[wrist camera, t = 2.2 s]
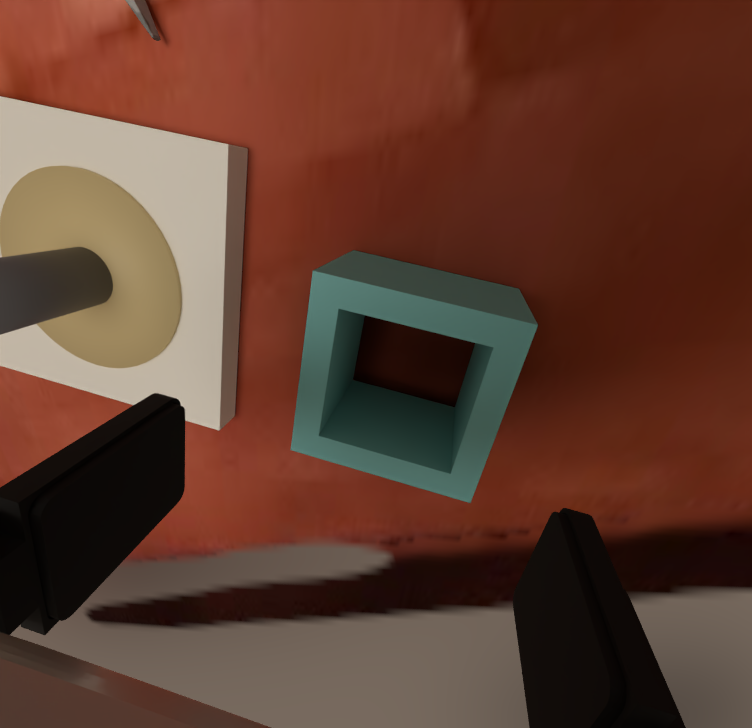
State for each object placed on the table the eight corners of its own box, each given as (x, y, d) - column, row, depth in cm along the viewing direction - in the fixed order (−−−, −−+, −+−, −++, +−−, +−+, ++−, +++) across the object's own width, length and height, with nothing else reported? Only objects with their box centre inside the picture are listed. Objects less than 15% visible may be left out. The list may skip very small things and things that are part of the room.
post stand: (248, 148, 16) (87, 116, 10) (234, 415, 22) (126, 519, 15) (-25, 90, 18) (-337, 26, 11) (26, 355, 23) (-161, 424, 16)
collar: (518, 288, 16) (538, 325, 12) (469, 430, 19) (470, 502, 15) (353, 250, 17) (312, 270, 13) (330, 392, 20) (290, 450, 16)
